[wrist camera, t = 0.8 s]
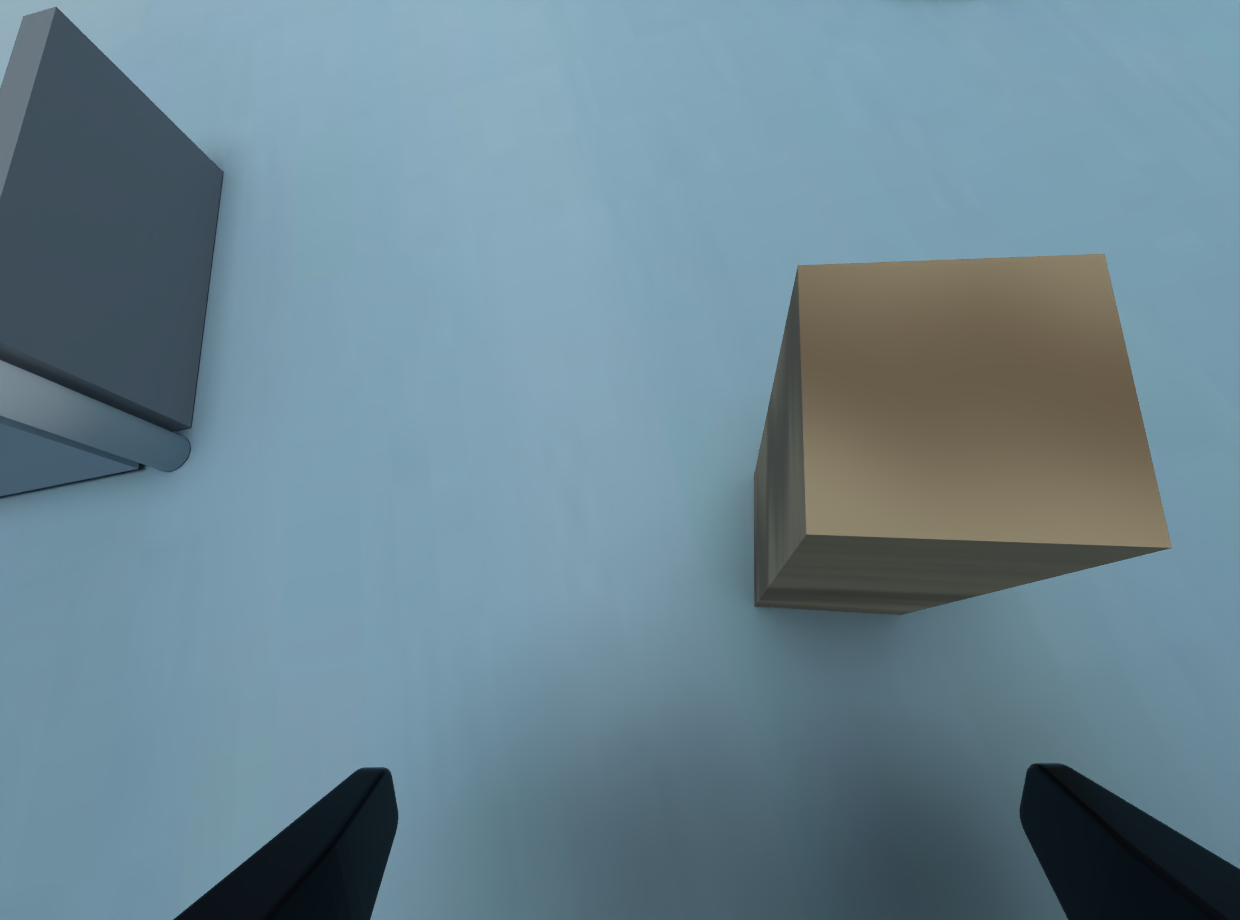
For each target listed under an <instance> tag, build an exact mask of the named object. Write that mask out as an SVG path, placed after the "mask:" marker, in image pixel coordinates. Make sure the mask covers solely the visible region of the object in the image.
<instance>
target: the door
mask: <svg viewBox="0 0 1240 920" xmlns="http://www.w3.org/2000/svg"><path fill="white" fill-rule="evenodd" d="M138 467H139V463H138V462H135V461H132V460H129V459H126V458H123V457H120V456H117V455H114V454H111V453H109V452H106V451H103V450H100V449H97V448H94V447H91V446H88V445H85V444H82V443H79V442H76V441H73V440H71V439H68V438H65V437H62V436H59V435H56V434H53V433H50V432H47V431H44V430H41V429H38V428H35V427H32V426H30V425H27V424H24V423H21V422H18V421H15V420H12V419H9V418H6V417H3V416H0V496H4V495H9V494H14V493H19V492H24V491H29V490H34V489H39V488H44V487H49V486H54V485H60V484H65V483H70V482H75V481H80V480H85V479H90V478H95V477H100V476H105V475H110V474H115V473H120V472H125V471H130V470H135V469H138Z"/></svg>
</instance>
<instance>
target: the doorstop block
mask: <svg viewBox="0 0 1240 920" xmlns="http://www.w3.org/2000/svg"><path fill="white" fill-rule="evenodd" d="M1169 548H1172V546H1171V542H1170V537H1169V533H1168V529H1167V524H1166V520H1165V515H1164V511H1163V507H1162V502H1161V498H1160V494H1159V489H1158V485H1157V481H1156V476H1155V472H1154V468H1153V463H1152V459H1151V454H1150V450H1149V446H1148V441H1147V437H1146V433H1145V428H1144V424H1143V420H1142V415H1141V411H1140V406H1139V402H1138V398H1137V393H1136V389H1135V385H1134V380H1133V376H1132V372H1131V367H1130V363H1129V359H1128V354H1127V350H1126V345H1125V341H1124V337H1123V332H1122V328H1121V324H1120V319H1119V315H1118V311H1117V306H1116V302H1115V298H1114V293H1113V289H1112V284H1111V280H1110V276H1109V271H1108V267H1107V263H1106V258H1105V254H1089V255H1063V256H1036V257H1010V258H983V259H957V260H931V261H904V262H878V263H851V264H825V265H798V268H797V272H796V277H795V282H794V287H793V292H792V296H791V301H790V306H789V311H788V316H787V320H786V325H785V330H784V335H783V340H782V344H781V349H780V354H779V359H778V364H777V368H776V373H775V378H774V383H773V388H772V392H771V397H770V402H769V407H768V412H767V416H766V421H765V426H764V431H763V436H762V440H761V445H760V450H759V455H758V460H757V464H756V469H755V474H754V587H755V606H757V607H774V608H792V609H809V610H827V611H844V612H861V613H879V614H896V615H902V614H906V613H910V612H914V611H918V610H922V609H926V608H930V607H934V606H938V605H942V604H946V603H950V602H954V601H958V600H963V599H967V598H971V597H975V596H979V595H983V594H987V593H991V592H995V591H999V590H1003V589H1007V588H1011V587H1015V586H1019V585H1023V584H1027V583H1032V582H1036V581H1040V580H1044V579H1048V578H1052V577H1056V576H1060V575H1064V574H1068V573H1072V572H1076V571H1080V570H1084V569H1088V568H1092V567H1096V566H1100V565H1105V564H1109V563H1113V562H1117V561H1121V560H1125V559H1129V558H1133V557H1137V556H1141V555H1145V554H1149V553H1153V552H1157V551H1161V550H1165V549H1169Z"/></svg>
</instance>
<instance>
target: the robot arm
mask: <svg viewBox="0 0 1240 920" xmlns="http://www.w3.org/2000/svg"><path fill="white" fill-rule="evenodd" d="M1020 819H1021V823H1022V826H1023V829H1024V831H1025V834H1026V836H1027V838H1028V840H1029V842H1030V844H1031V846H1032V848H1033V850H1034V852H1035V854H1036V856H1037V858H1038V860H1039V862H1040V864H1041V866H1042V868H1043V870H1044V872H1045V874H1046V876H1047V878H1048V880H1049V882H1050V884H1051V886H1052V888H1053V890H1054V892H1055V894H1056V896H1057V898H1058V900H1059V902H1060V904H1061V906H1062V908H1063V910H1064V912H1065V914H1066V916H1067V918H1068V920H1240V869H1239V868H1237V867H1235V866H1234V865H1232V864H1230V863H1229V862H1227V861H1225V860H1224V859H1222V858H1220V857H1219V856H1217V855H1215V854H1213V853H1212V852H1210V851H1208V850H1207V849H1205V848H1203V847H1202V846H1200V845H1198V844H1197V843H1195V842H1193V841H1192V840H1190V839H1188V838H1187V837H1185V836H1183V835H1182V834H1180V833H1178V832H1177V831H1175V830H1173V829H1172V828H1170V827H1168V826H1167V825H1165V824H1163V823H1162V822H1160V821H1158V820H1157V819H1155V818H1153V817H1152V816H1150V815H1148V814H1147V813H1145V812H1143V811H1142V810H1140V809H1138V808H1137V807H1135V806H1133V805H1132V804H1130V803H1128V802H1127V801H1125V800H1123V799H1122V798H1120V797H1118V796H1117V795H1115V794H1113V793H1112V792H1110V791H1108V790H1107V789H1105V788H1103V787H1102V786H1100V785H1098V784H1097V783H1095V782H1093V781H1092V780H1090V779H1088V778H1087V777H1085V776H1083V775H1082V774H1080V773H1078V772H1077V771H1075V770H1073V769H1072V768H1070V767H1068V766H1066V765H1063V764H1058V763H1037V764H1032V765H1031V766H1030V767H1029V768H1028V770H1027V773H1026V778H1025V783H1024V789H1023V794H1022V799H1021V804H1020ZM397 825H398V808H397V802H396V797H395V791H394V785H393V779H392V775H391V772H390V771H389V769H387V768H384V767H375V768H360V769H358V770H357V771H355V772H354V773H353V774H351V775H350V776H349V777H348V778H347V779H345V780H344V781H343V782H342V783H340V784H339V785H338V786H337V787H335V788H334V789H333V790H332V791H331V792H329V793H328V794H327V795H326V796H324V797H323V798H322V799H321V800H320V801H318V802H317V803H316V804H315V805H313V806H312V807H311V808H310V809H308V810H307V811H306V812H305V813H304V814H302V815H301V816H300V817H299V818H297V819H296V820H295V821H294V822H293V823H291V824H290V825H289V826H288V827H286V828H285V829H284V830H283V831H281V832H280V833H279V834H278V835H277V836H275V837H274V838H273V839H272V840H270V841H269V842H268V843H267V844H266V845H264V846H263V847H262V848H261V849H259V850H258V851H257V852H256V853H254V854H253V855H252V856H251V857H250V858H248V859H247V860H246V861H245V862H243V863H242V864H241V865H240V866H239V867H237V868H236V869H235V870H234V871H232V872H231V873H230V874H229V875H227V876H226V877H225V878H224V879H223V880H221V881H220V882H219V883H218V884H216V885H215V886H214V887H213V888H212V889H210V890H209V891H208V892H207V893H205V894H204V895H203V896H202V897H200V898H199V899H198V900H197V901H196V902H194V903H193V904H192V905H191V906H189V907H188V908H187V909H186V910H185V911H183V912H182V913H181V914H180V915H178V916H177V917H176V918H175V919H174V920H370V918H371V915H372V911H373V908H374V905H375V901H376V898H377V894H378V891H379V888H380V884H381V881H382V878H383V874H384V871H385V867H386V864H387V861H388V857H389V854H390V851H391V847H392V844H393V840H394V837H395V834H396V830H397Z"/></svg>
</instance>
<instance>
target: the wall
mask: <svg viewBox="0 0 1240 920" xmlns="http://www.w3.org/2000/svg"><path fill="white" fill-rule="evenodd" d="M222 177H223V171H222V170H221V169H220V168H219V167H218V166H217V165H216V164H215V163H214V162H213V161H212V160H210V159H209V158H208V157H207V156H206V155H205V154H204V153H203V152H202V151H201V150H200V149H199V148H198V147H197V146H196V145H195V144H194V143H193V142H192V141H191V140H190V139H189V138H188V137H187V136H186V135H185V134H184V133H183V132H182V131H181V130H180V129H179V128H178V127H177V126H176V125H175V124H174V123H173V122H172V121H171V120H170V119H169V118H168V117H167V116H166V115H165V114H164V113H163V112H162V111H161V110H160V109H159V108H158V107H157V106H156V105H155V104H154V103H153V102H152V101H151V100H150V99H149V98H148V97H147V96H146V95H145V94H144V93H143V92H142V91H141V90H140V89H139V88H138V87H137V86H136V85H135V84H134V83H133V82H132V81H131V80H130V79H129V78H128V77H127V76H126V75H125V74H124V73H123V72H122V71H121V70H120V69H119V68H118V67H117V66H116V65H115V64H114V63H113V62H112V61H111V60H110V59H109V58H108V57H106V56H105V55H104V54H103V53H102V52H101V51H100V50H99V49H98V48H97V47H96V46H95V45H94V44H93V43H92V42H91V41H90V40H89V39H88V38H87V37H86V36H85V35H84V34H83V33H82V32H81V31H80V30H79V29H78V28H77V27H76V26H75V25H74V24H73V23H72V22H71V21H70V20H69V19H68V18H67V17H66V16H65V15H64V14H63V13H62V12H61V11H60V10H59V9H58V8H57V7H54V8H50V9H47V10H44V11H40V12H37V13H33V14H30V15H26V16H23V19H22V22H21V25H20V29H19V32H18V35H17V38H16V41H15V44H14V47H13V51H12V54H11V57H10V60H9V63H8V66H7V69H6V73H5V76H4V79H3V82H2V85H1V88H0V416H3V417H6V418H9V419H12V420H15V421H18V422H21V423H24V424H27V425H30V426H32V427H35V428H38V429H41V430H44V431H47V432H50V433H53V434H56V435H59V436H62V437H65V438H68V439H71V440H73V441H76V442H79V443H82V444H85V445H88V446H91V447H94V448H97V449H100V450H103V451H106V452H109V453H111V454H114V455H117V456H120V457H123V458H126V459H129V460H132V461H135V462H138V463H141V464H144V465H147V466H150V467H152V468H155V469H158V470H161V471H165V472H169V471H173V470H176V469H177V468H179V467H180V466H181V465H182V464H183V463H184V462H185V461H186V459H187V458H188V455H189V452H190V444H189V441H188V440H187V439H186V438H185V437H183V436H181V435H178V434H176V433H173V432H171V431H175V430H180V429H184V428H189V427H191V422H192V415H193V407H194V399H195V391H196V383H197V375H198V367H199V359H200V351H201V343H202V335H203V327H204V319H205V312H206V304H207V296H208V288H209V280H210V272H211V264H212V256H213V248H214V240H215V232H216V224H217V216H218V209H219V201H220V193H221V185H222Z"/></svg>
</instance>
